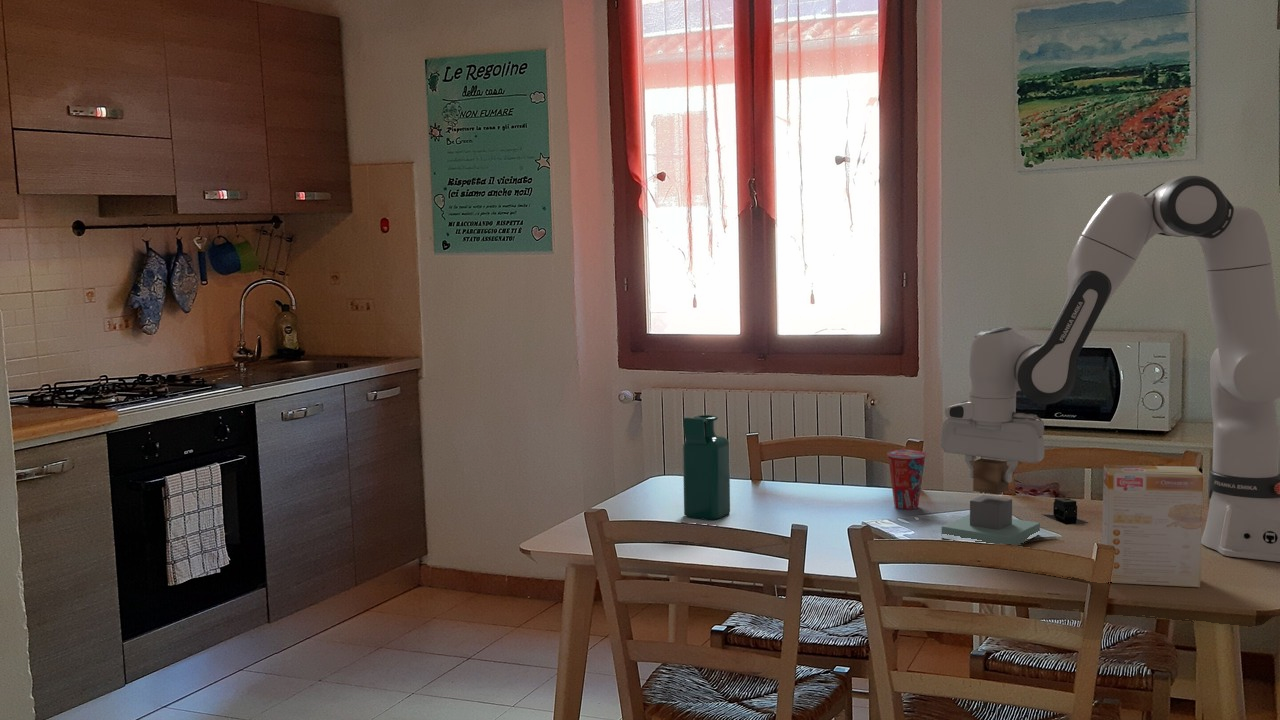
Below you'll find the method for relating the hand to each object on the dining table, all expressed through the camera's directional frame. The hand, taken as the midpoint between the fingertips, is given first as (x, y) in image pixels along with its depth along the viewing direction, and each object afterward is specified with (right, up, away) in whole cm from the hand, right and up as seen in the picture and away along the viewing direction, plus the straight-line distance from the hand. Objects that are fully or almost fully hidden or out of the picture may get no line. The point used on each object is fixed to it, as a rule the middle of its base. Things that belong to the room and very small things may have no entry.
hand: (991, 479), depth 228 cm
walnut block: (0, -2, 0) cm, 2 cm away
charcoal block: (0, -9, +1) cm, 9 cm away
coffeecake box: (+19, -15, -28) cm, 37 cm away
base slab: (0, -11, +1) cm, 12 cm away
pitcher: (-55, -10, +24) cm, 61 cm away
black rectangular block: (+20, -10, +15) cm, 27 cm away
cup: (-11, -9, +28) cm, 31 cm away
